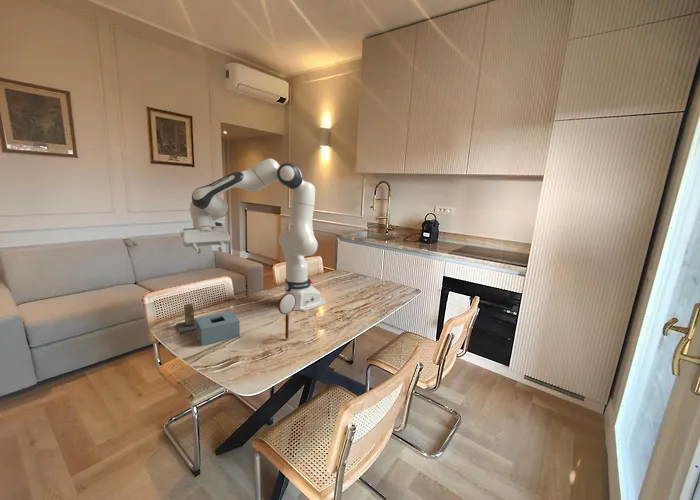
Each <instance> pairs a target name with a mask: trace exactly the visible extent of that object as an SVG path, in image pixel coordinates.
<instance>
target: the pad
mask: <svg viewBox="0 0 700 500" xmlns="http://www.w3.org/2000/svg"><path fill="white" fill-rule="evenodd" d="M175 325H176V328H177V331H178V334H179V335H185V334H187V333H193V332H196V320H195V319H194V325H195V326H191V327H186V325H185V321H181V322H177V323H175Z"/></svg>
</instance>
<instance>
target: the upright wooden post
mask: <svg viewBox="0 0 700 500" xmlns="http://www.w3.org/2000/svg"><path fill="white" fill-rule="evenodd" d="M194 309H195V308H194V305H193V303H188V304H184V305H183V310H184V312H183V313H184V322H185V325H186V327H191V326H195V325H194V320H195V312H194Z"/></svg>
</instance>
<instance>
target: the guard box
mask: <svg viewBox="0 0 700 500" xmlns="http://www.w3.org/2000/svg"><path fill="white" fill-rule="evenodd" d="M194 320H196V331H195V334H196V336H197V339H198V340H199V342H200V344H201V347H204V346H209V345H212V344H216V343H219V342H224V341H227V340H232V339H235V338H239V337H240V336H241V335H240V334H241V333H240V329H241V328H240V320H239V318H238V317H237V316H236V315H235V314H234V312H232V310H229V311H224V312H219V313H215V314H209V315H205V316H200V317H199V316H198V317H194Z"/></svg>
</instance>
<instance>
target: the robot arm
mask: <svg viewBox="0 0 700 500" xmlns="http://www.w3.org/2000/svg"><path fill="white" fill-rule="evenodd" d="M274 182H280V184H281V185H283V186H284V187H285V188H288V189H290V190H292V193H293V194H292V202H291V208H290V215H289V218H290V222H291V223H292V229H288V230H286V229H285V230H283V231H282V232H281V233H280V234H279V236H278V244H279V245H280V248H281V249H282V253H283V257H284V261H285V279H284V291H285V292H284V293H285V294H287V293H292V294H293V295H294V296H295V298H296V304H295V307H294V309H293V310H292V311H301V312H307V311H310V310H311V309H315V308H318V307H320V306H323V305H325V304H326V301H325V299H324V298H322V296H321V292H320V291H319V290H318V289H317V288H316V287H314V286H313V285H314V283H315V280H314V279H310V278H308V277H309V263H308V262H307V261H306V258H305V257H306V256H307V257H309V256H313V255H314V254H315V253H316V252H317V251H318V246H319V244H318V240H317V239H316V236H315V233H314V228H313V227H314V225H313V218H314V212H315V203H316V187H315V185H314V184H313V183H311V182H310V181H306V180H304V177H303V174H302V172H301V170H300V168H299V167H298V166H297V165H296V164H294V163H291V162H284V163H282V164H279V162H278V161H277V160H276V159H273V158H267V159H264V160H262V161H260V162H258V163H256V164H255V165H253V166H251V167H250V168H248V169H245V170H243V171H234V172H232V173H229V174H227V175H225V176H223V177H221V178H218V179H216V180H215V181H213V182H211V183H208V184H207V185H206V184H205V185H203V186H199V187H197V188H196V189H195V190H194V191H193V192H192V194H191V202H190V205H189V212H190V217H191V220H192V228H189V227H188V228H182V229H181V230H180V233H179V234H180V236H181V237H182V245H183V247H185V248H188V247H189V248H190V247H192V249H193V250H194V251H196V254H197V255H198V254H201V253H202V251H201V248H198V247H204V246H206V247H207V246H219V247H218V249H217V250H218V252H219V253H221V252H223V247H224V245H229V243H230V241H231V237H230V234H229V232H228V230H227V228H226V227H225V223H223V222H218V221H216V220H219V219H222V218H223V217H224V216H226V215H227V214H228V213H229V207H230V206H229V204H228V203H229V202H227V201H226V200H225V199H224V198H222V197H221V196H219V195H221V194H223V193H225V192H227V191H228V190H231V189H241V190H245V191H247V192H252V193H257V192H261V191H262V190H263V189H266V188H267V187H268V186H269V185H271V184H272V183H274ZM285 294H284V295H285Z"/></svg>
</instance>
